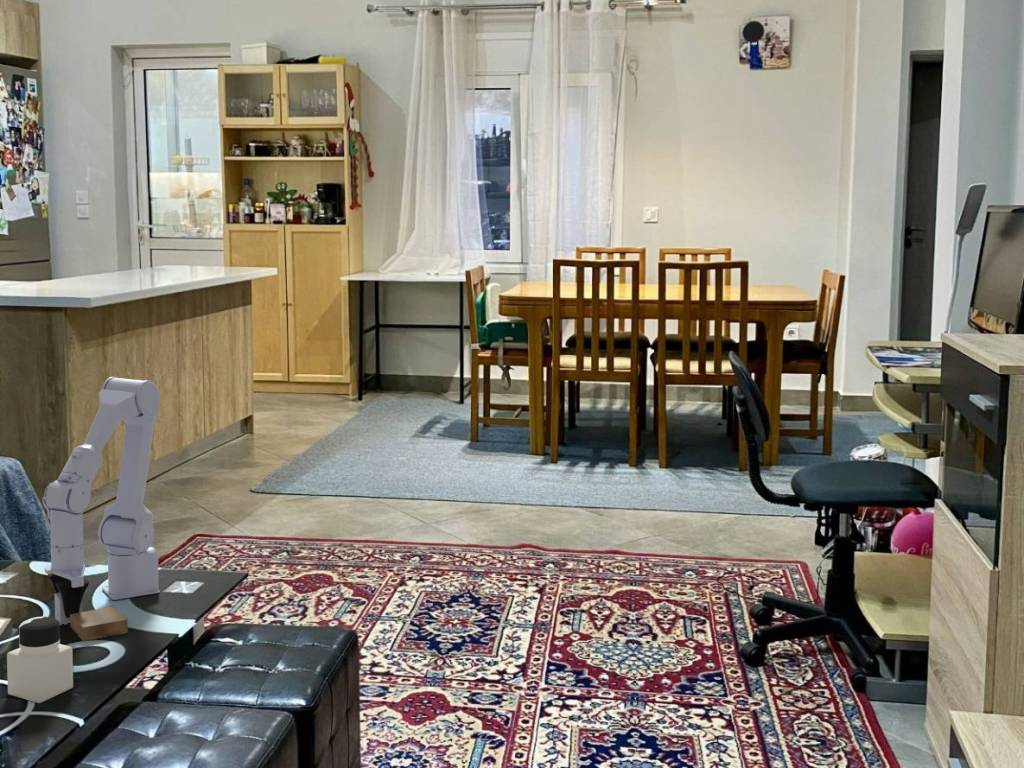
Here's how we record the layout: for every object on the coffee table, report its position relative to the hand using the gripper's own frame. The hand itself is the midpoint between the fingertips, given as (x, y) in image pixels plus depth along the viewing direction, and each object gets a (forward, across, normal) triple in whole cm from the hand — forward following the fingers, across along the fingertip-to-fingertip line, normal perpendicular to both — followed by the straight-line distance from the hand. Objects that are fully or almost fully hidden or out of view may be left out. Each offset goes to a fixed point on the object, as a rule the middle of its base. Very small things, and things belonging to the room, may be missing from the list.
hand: (68, 612), depth 211 cm
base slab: (+2, +8, +3) cm, 9 cm away
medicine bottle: (+2, +30, -12) cm, 32 cm away
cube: (+1, 0, 0) cm, 1 cm away
